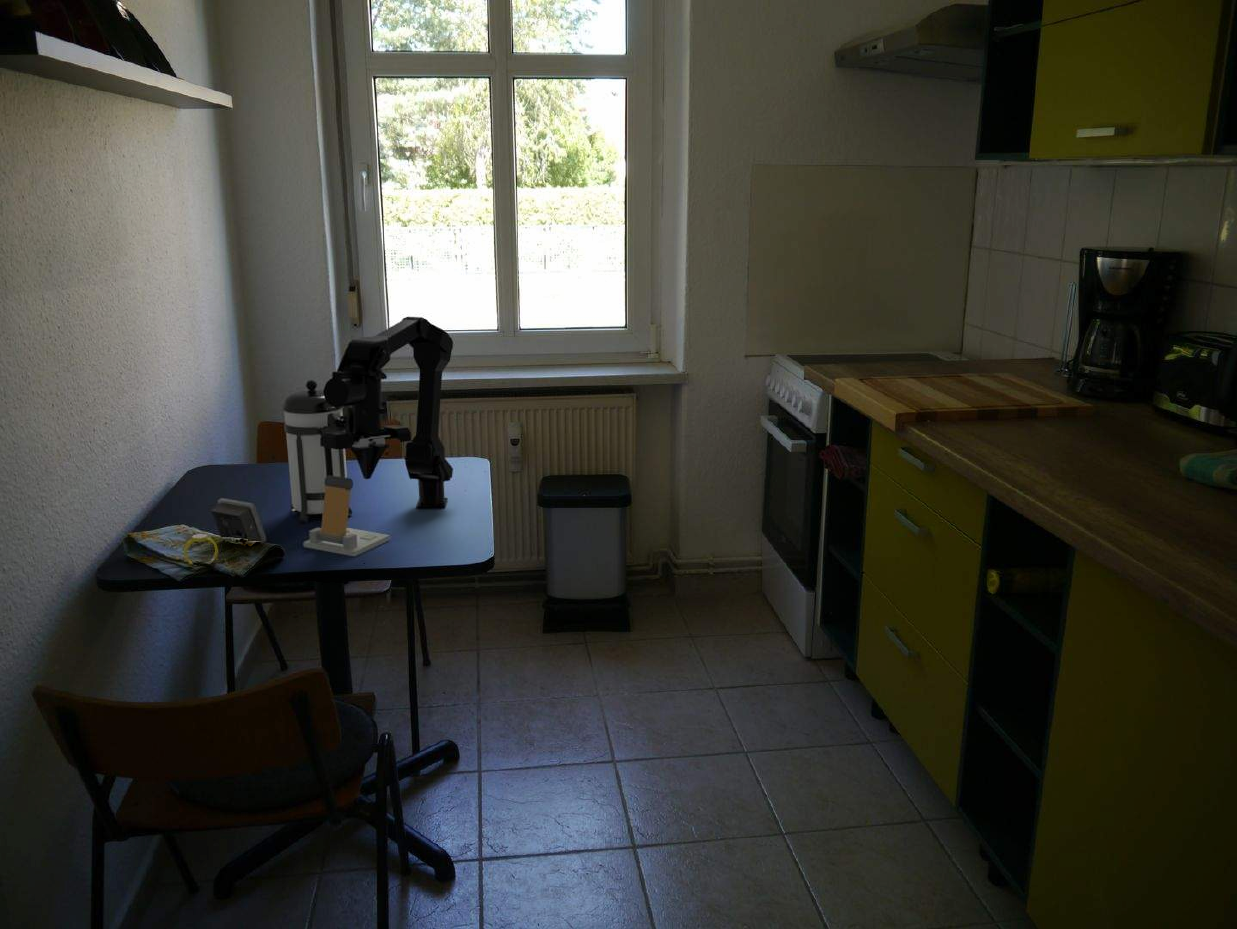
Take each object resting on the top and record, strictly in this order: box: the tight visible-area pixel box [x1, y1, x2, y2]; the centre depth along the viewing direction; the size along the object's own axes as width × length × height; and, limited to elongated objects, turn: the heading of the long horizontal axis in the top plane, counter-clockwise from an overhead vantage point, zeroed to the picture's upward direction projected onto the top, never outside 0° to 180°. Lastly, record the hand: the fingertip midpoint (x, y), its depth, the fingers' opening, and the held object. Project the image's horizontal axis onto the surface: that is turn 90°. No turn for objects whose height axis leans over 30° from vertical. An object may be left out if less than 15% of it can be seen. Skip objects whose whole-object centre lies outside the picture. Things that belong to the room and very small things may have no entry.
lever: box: [318, 475, 354, 544], centre depth 206 cm, size 2×6×13 cm, turn 65°
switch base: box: [302, 527, 391, 557], centre depth 210 cm, size 11×13×4 cm
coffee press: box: [281, 379, 353, 524], centre depth 224 cm, size 17×16×30 cm
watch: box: [183, 533, 219, 566], centre depth 197 cm, size 6×3×6 cm, turn 120°
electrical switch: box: [210, 497, 267, 543], centre depth 209 cm, size 9×5×9 cm, turn 65°
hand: (367, 478), depth 210 cm, fingers closed
